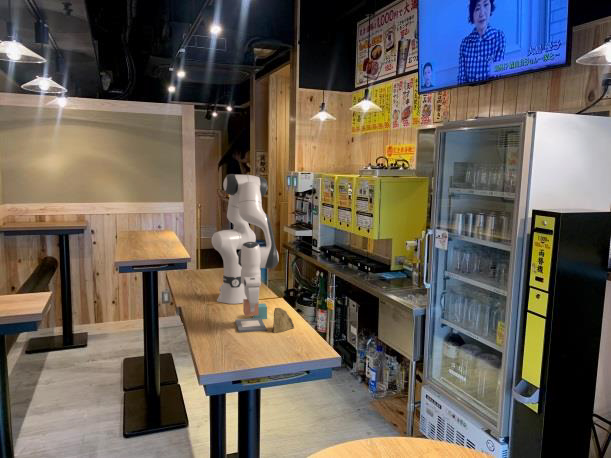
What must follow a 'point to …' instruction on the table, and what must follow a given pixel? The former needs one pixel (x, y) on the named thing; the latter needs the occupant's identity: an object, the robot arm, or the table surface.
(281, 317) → the rock
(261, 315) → the teal block
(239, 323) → the grey flat plate
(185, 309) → the table surface
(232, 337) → the table surface
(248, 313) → the terracotta block
